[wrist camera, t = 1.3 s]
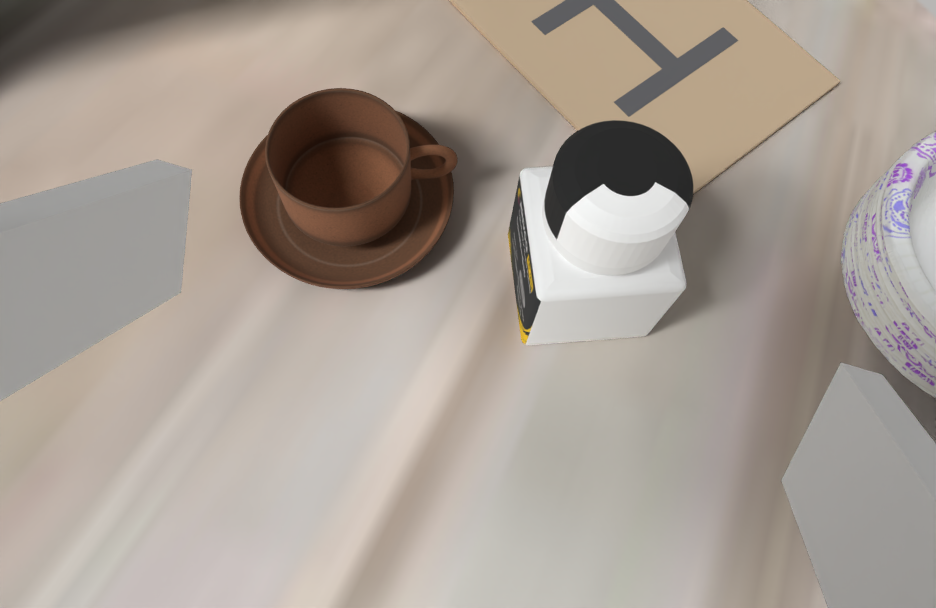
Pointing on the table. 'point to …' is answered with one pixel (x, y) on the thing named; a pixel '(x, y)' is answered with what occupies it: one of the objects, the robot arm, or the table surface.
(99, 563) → the table surface
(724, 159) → the letter card
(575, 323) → the medicine bottle
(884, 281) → the paper bowls
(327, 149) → the cup and saucer
